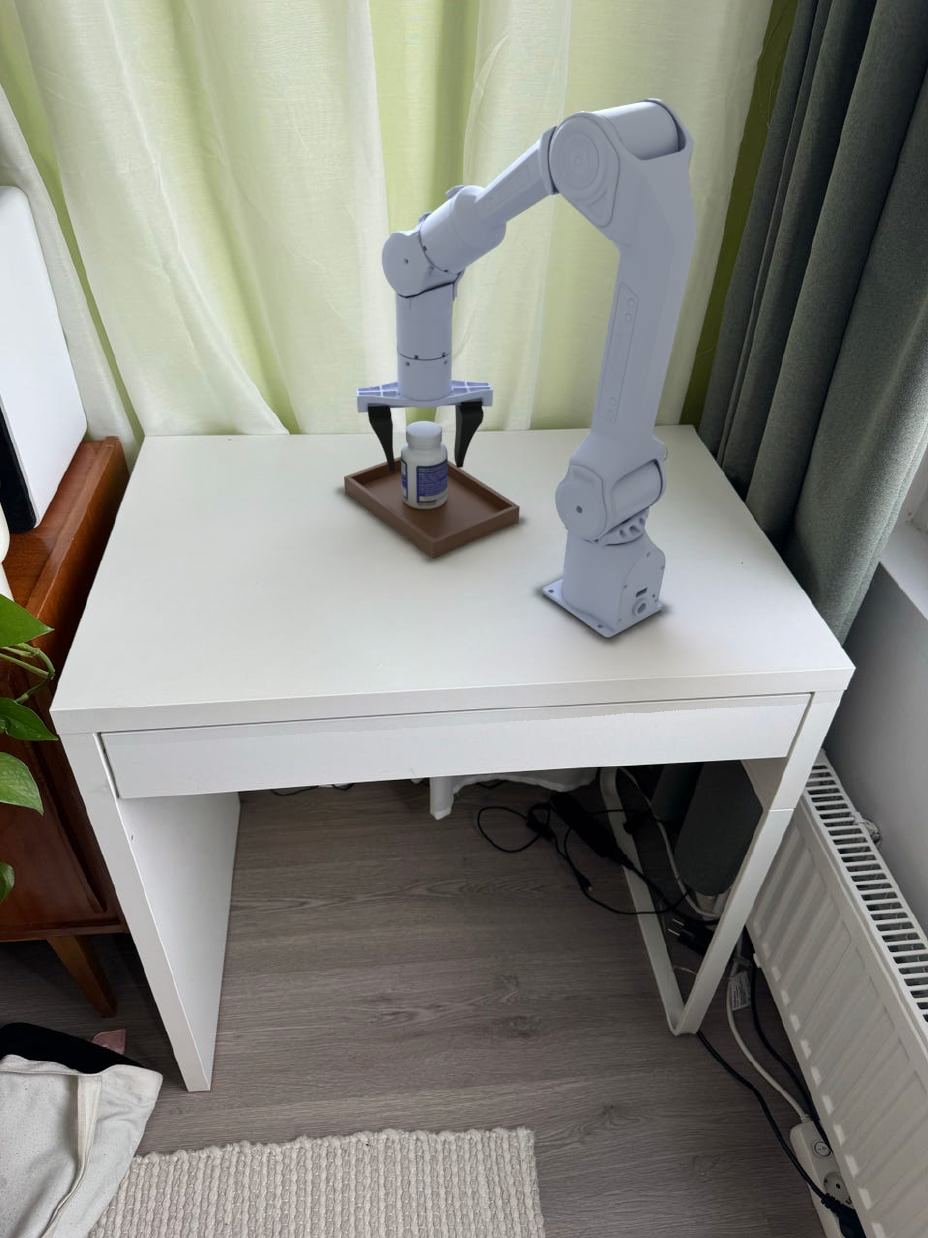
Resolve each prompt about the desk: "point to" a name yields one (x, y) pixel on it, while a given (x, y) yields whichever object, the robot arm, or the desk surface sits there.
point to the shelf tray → (442, 527)
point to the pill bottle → (424, 466)
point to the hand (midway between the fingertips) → (425, 465)
